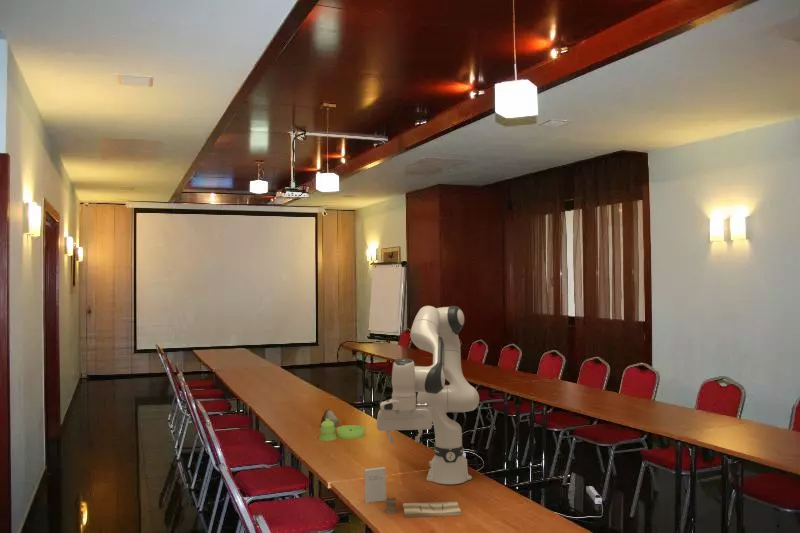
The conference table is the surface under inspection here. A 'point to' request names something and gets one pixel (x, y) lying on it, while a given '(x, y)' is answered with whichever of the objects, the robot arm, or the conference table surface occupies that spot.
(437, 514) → the board
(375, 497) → the hard drive
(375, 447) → the conference table surface
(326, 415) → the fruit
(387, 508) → the block
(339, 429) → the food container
